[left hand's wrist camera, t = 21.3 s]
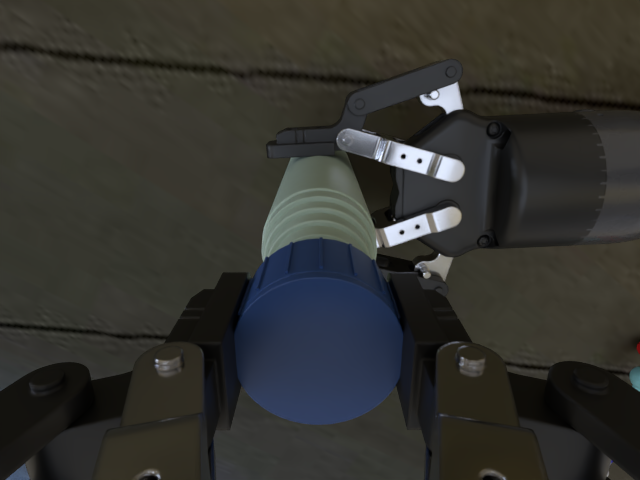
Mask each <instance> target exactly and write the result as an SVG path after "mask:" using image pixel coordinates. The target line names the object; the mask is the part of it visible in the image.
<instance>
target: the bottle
mask: <svg viewBox="0 0 640 480" xmlns="http://www.w3.org/2000/svg"><path fill="white" fill-rule="evenodd" d="M320 237H323V239H331V240H337V241H340V242H344V243H347V244H349V243H350V244H352V246H354V247H355V248H357V249H359V250H361V251H362V252H364V253H365V254H366V255H367V256H369V257H370V258H371V259H372V260H373V259H374V260H375V261H376V256H377V243H376V232H375V228H374V224H373V221H372V219H371V216H370V213H369V211H368V208H367V205H366V203H365V200H364V197H363V195H362V192H361V189H360V187H359V184H358V181H357V179H356V176H355V174H354V171H353V168H352V166H351V163H350V160H349V158H348V155H347V153H346V152H345V151H343V150H342V151H335V155H333V156H312V157H292V158H291V159H290V161H289V164H288V167H287V169H286V172H285V174H284V177H283V179H282V182H281V185H280V187H279V190H278V192H277V195H276V197H275V200H274V203H273V205H272V208H271V210H270V213H269V215H268V218H267V221H266V223H265V226H264V230H263V237H262V258H263V262H264V260H265V258H266V257H267V256H268V257H269V256H270V255H271V254H273V253H274V252H276V251H277V250H279V249H280V248H282V247H284V246H286V245H289V244H290V242H293V243H294V242H297V241H301V240H306V239H316V238H317V239H319V238H320Z"/></svg>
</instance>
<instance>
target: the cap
mask: <svg viewBox="0 0 640 480" xmlns="http://www.w3.org/2000/svg"><path fill="white" fill-rule="evenodd" d="M237 315H238V316H239V319H238V322H237V324H236V327H235V331H234V340H235V353H236V365H237V376H238V380H239V381H240V383H241V385H242V387H243V388H244V389H245V391H246V392H247V393H248V395H249V396H250V397H251V398H252V399H253V400H254V401H255V402H257V403H258V404H259V405H260V406H262V407H263V408H264V409H266V410H268V411H269V412H271V413H273V414H275V415H277V416H279V417H281V418H284V419H287V420H290V421H294V422H298V423H304V424H316V425H323V424H334V423H339V422H344V421H347V420H351V419H354V418H356V417H358V416H361V415H363V414H365V413H366V412H368V411H370V410H372V409H373V408H374V407H376V406H377V405H379V404H380V403H381V402H382V401H383V400H384V399H385V398H386V397H387V396H388V395H389V394H390V393H391V391H392V390H393V389H394V387H395V386H396V384H397V382H398V381H399V378H400V371H401V358H402V346H403V330H402V327H401V324H400V321H399V320H400V314H399V312H398V309H397V306H396V303H395V300H394V297H393V294H392V291H391V288H390V285H389V282H386V279H385V277H384V275H383V273H382V272H381V270H380V269H379V267H378V266H377V264H376V261H375V260H374V259H373V260H372V259H371V258H370V257H369V256H367V255H366V254H365V253H364V252H362V251H361V250H359V249H357V248H355V247H354V246H352V244H350V243H349V244H347V243H344V242H340V241H337V240H331V239H323V237H320V238H319V239H317V238H316V239H306V240H301V241H297V242H294V243H293V242H290V244H289V245H286V246H284V247H282V248H280V249H279V250H277V251H276V252H274V253H273V254H271V255H270V256H269V257H268V256H267V257H266V258H265V260H264V262H263V263H262V264H261V266H260V267H259V268H258V270H257V271H256V273H255V275H254V277H253V279H252V278H250V280H249V283H248V286H247V289H246V292H245V294H244V297H243V300H242V303H241V306H240V308H239V311H238V314H237Z"/></svg>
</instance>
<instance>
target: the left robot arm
mask: <svg viewBox="0 0 640 480" xmlns="http://www.w3.org/2000/svg"><path fill="white" fill-rule="evenodd" d="M250 278H251V276H250V273H223V274H222V275H221V277H220V279H219V281H218V283H217V285H216V287H215V289H204V290H202V291H201V292H199V293H198V294H196V295H195V296H194V297H192V298H191V299H190V301H189V303H188V304H187V306H186V308H185V310H184V311H183V313H182V314H181V316H180V319H178V321H177V323H176V325H175V326H174V328H173V330H172V331H171V333H170V335H169V336H168V338H167V340H166V341H165V343H164V344H161V345H158V346H156V347H153V348H151V349H149V350H148V351H146V352H145V353H143V354H142V355H141V356H140V357H139V358H138V359H137V361H136V362H135V364H134V368H133V371H131V372H128V373H125V374H121V375H116V376H111V377H106V378H102V379H97V380H92V381H91V377H90V373H89V370H88V368H87V367H86V366H84V365H82V364H79V363H74V362H65V363H57V364H52V365H48V366H45V367H42V368H40V369H37V370H35V371H33V372H31V373H29V374H27V375H25V376H24V377H22V378H20V379H19V380H17V381H16V382H14V383H13V384H11V385H10V386H8V387H6V388H5V389H3V390H2V391H0V480H5V479H7V478H8V477H9V476H10V475H11V474H12V473H14V472H15V471H16V470H17V469H18V468H20V467H21V466H22V465H23V464H24V463H25V465H26V468H27V471H28V474H29V477H30V480H216V466H215V449H214V441H213V437H214V434H215V430H230V428H231V424H232V420H233V416H234V412H235V408H236V405H237V401H238V397H239V393H240V389H241V383H240V381H239V380H238V376H237V365H236V353H235V340H234V331H235V327H236V324H237V322H238V319H239V316H238V315H237V314H238V311H239V308H240V306H241V303H242V300H243V297H244V294H245V292H246V289H247V286H248V283H249V280H250ZM387 282H389V285H390V288H391V291H392V294H393V297H394V300H395V303H396V306H397V309H398V312H399V314H400V320H399V321H400V324H401V327H402V330H403V346H402V358H401V371H400V378H399V381H398V382H397V384H396V387H397V391H398V395H399V399H400V403H401V407H402V411H403V415H404V418H405V422H406V426H407V430H422V433H423V437H424V440H425V443H426V449H425V466H424V480H610V479H609V478H608V477H607V474H608V470H609V467H610V464H611V461H613V462H614V463H616V464H617V465H618V466H619V467H620V468H622V469H623V470H624V471H625V472H626V473H627V474H629V475H630V476H631V477H632V478H633V479H635V480H640V391H638V390H637V389H635V388H634V387H632V386H630V385H629V384H627V383H626V382H624V381H623V380H621V379H620V378H618V377H617V376H615V375H613V374H612V373H610V372H608V371H606V370H604V369H602V368H599V367H597V366H593V365H590V364H586V363H582V362H575V361H564V362H559V363H556V364H554V365H553V366H552V367H551V368H550V370H549V373H548V378H547V380H542V379H538V378H533V377H528V376H523V375H518V374H514V373H510V372H507V368H506V365H505V362H504V361H503V359H502V358H501V357H500V356H499V355H498V354H497V353H495V352H494V351H492V350H491V349H489V348H487V347H484V346H482V345H479V344H475V343H473V342H472V341H471V339H470V337H469V336H468V334H467V332H466V331H465V329H464V327H463V325H462V324H461V322H460V320H459V319H457V315H456V313H455V312H454V310H452V307H451V305H450V303H449V302H448V300H447V298H446V297H444V296H443V295H442V294H440V293H439V292H437V291H436V290H434V289H423V288H422V286H421V284H420V282H419V280H418V278H417V276H416V274H415V273H414V272H388V275H387Z"/></svg>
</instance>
